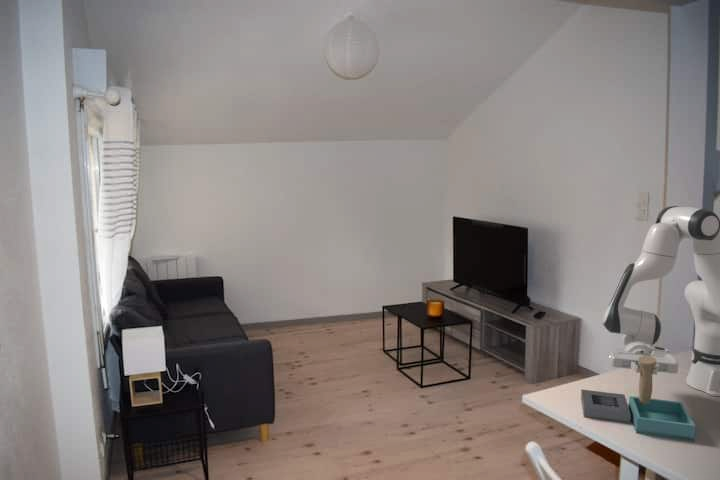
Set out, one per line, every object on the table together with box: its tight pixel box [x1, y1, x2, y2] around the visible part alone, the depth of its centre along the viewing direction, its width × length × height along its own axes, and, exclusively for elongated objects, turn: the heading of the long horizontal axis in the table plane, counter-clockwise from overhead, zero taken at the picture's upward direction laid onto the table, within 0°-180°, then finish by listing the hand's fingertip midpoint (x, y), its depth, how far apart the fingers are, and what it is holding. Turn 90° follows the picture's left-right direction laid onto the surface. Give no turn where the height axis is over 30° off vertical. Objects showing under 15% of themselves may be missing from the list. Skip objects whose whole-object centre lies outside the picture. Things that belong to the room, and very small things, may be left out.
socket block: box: [580, 388, 631, 424], centre depth 184 cm, size 14×14×4 cm
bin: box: [628, 395, 696, 442], centre depth 174 cm, size 16×16×5 cm
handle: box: [638, 356, 656, 404], centre depth 175 cm, size 5×6×15 cm
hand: (646, 371), depth 174 cm, fingers closed on handle, 3 cm apart
